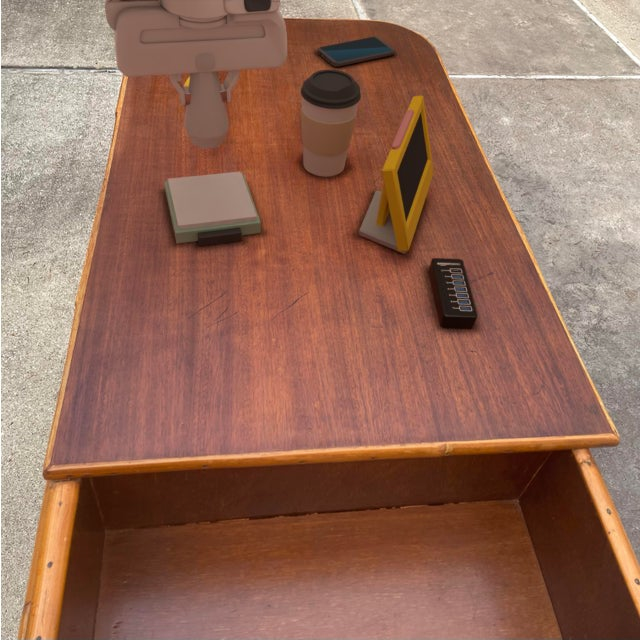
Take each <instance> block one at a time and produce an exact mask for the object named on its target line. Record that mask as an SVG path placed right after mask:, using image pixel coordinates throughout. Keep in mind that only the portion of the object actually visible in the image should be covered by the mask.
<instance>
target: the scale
mask: <svg viewBox="0 0 640 640" xmlns="http://www.w3.org/2000/svg"><path fill="white" fill-rule="evenodd" d="M163 182H164V183H163V184H164V191H165V197H166V201H167V206H168V211H169V216H170V219H171V224H172V229H173V233H174V234H173V235H174V238H175V242H176V243H175V244H185V243H193V242H198V245H199V247H208V246H215V245H222V244H229V243H238V242H243V236H248V235H249V236H250V235H255V234H261V232H262V221H261V219H260V216H259V213H258V210H257V207H256V205H255V202H254V199H253V196H252V193H251V191H250V188H249V185H248V182H247V179H246V177H245V174H244V173H242V171H230V172H221V173H211V174H203V175H201V174H200V175H191V176H181V177H173V178H171V177H170V178H167V181H163Z"/></svg>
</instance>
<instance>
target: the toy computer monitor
mask: <svg viewBox="0 0 640 640" xmlns="http://www.w3.org/2000/svg"><path fill="white" fill-rule="evenodd" d="M425 105H426V104H425V98H424V96H423V95H421V94H420V95H413V97H412V99H411V101H410V103H409V105H408V108H407V110H406V112H405V113H404V116H403V118H402V121H401V123H400V125H399V128H398V130H397V133H396V134H395V137H394V139H393V142H392V144H391V149H390V150H389V153H388V155H387V157H386V160H385V162H384V164H383V167H382V169H381V174H382V179H383V183H382V187H381V190H379V189H377V190H375V191H374V194H373V196H372V199H371V200H370V203H369V205H368V209H367V211H366V213H365V215H364V218H363V221H362V223H361V226H360V227H359V231H358V235H359V236H360V237H362V238H365V239H367V240H369V241H371V242H375V243H377V244H380V245H382V246H384V247H386V248H389V249H392V250H394V251H396V252H399V253H401V254H403V255H405V254H407V252H408V251H409V250H410V247H411V245H412V241H413V238H414V235H415V232H416V229H417V226H418V223H419V220H420V217H421V213H422V211H423V208H424V204H425V201H426V198H427V195H428V192H429V190H430V187H431V183H432V180H433V176H434V174H435V170H434V163H433V154H432V148H431V141H430V135H429V127H428V119H427V113H426V106H425Z"/></svg>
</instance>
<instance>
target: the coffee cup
mask: <svg viewBox="0 0 640 640" xmlns="http://www.w3.org/2000/svg"><path fill="white" fill-rule="evenodd" d="M300 95H301V105H300V115H301V116H300V119H301V143H302V163H303V167H304V169H305V171H307V172H308V173H310V174H312V175H314V176H317V177H325V178H327V177H334V176H338V175H339V174H340V173H342V172H343V171H344V170H345V166H346V161H347V158H348V152H349V148H350V145H351V141H352V137H353V133H354V128H355V123H356V119H357V115H358V107H359V102H360V100H361V98H362V94H361V86H360V85H359V83H358V82H357V81H356V80H355V79H354V77H353V76H352V75H351V74H349V73H347V72H345V71H343V70H339V69H331V68H330V69H328V68H327V69H321V70H317V71H315V72H313V73H312V74H311V75H310V76H309V77H308V78H306V79H305V80H304V81H303V83H302V87H301V88H300Z"/></svg>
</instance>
